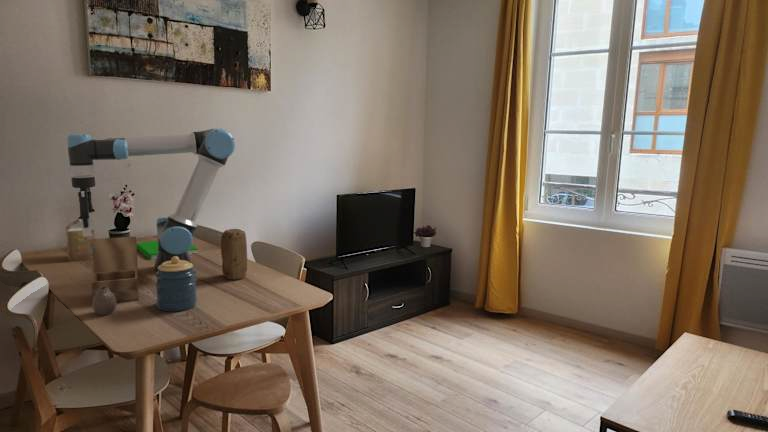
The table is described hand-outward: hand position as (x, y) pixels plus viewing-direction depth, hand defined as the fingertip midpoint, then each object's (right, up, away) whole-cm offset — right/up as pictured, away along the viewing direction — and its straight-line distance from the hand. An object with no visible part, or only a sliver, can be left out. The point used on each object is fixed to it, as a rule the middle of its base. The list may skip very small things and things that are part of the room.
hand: (88, 232), depth 191 cm
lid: (+13, -8, -5) cm, 16 cm away
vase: (+20, -26, -25) cm, 41 cm away
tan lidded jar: (-28, -13, +42) cm, 52 cm away
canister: (+40, -25, -16) cm, 50 cm away
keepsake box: (+16, -23, -9) cm, 29 cm away
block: (+49, -19, +19) cm, 56 cm away
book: (+3, -12, +61) cm, 62 cm away
